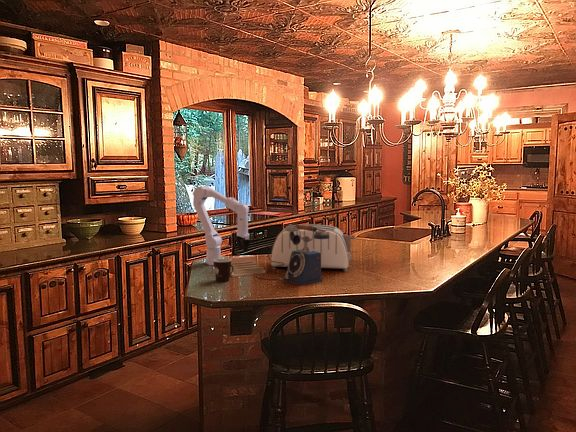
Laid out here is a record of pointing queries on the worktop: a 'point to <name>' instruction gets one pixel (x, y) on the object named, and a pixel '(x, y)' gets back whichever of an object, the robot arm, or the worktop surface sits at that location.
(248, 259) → the clay strip
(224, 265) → the coffee mug
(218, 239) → the robot arm
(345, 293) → the worktop surface
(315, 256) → the rotary telephone
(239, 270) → the drying rack
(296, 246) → the toaster
